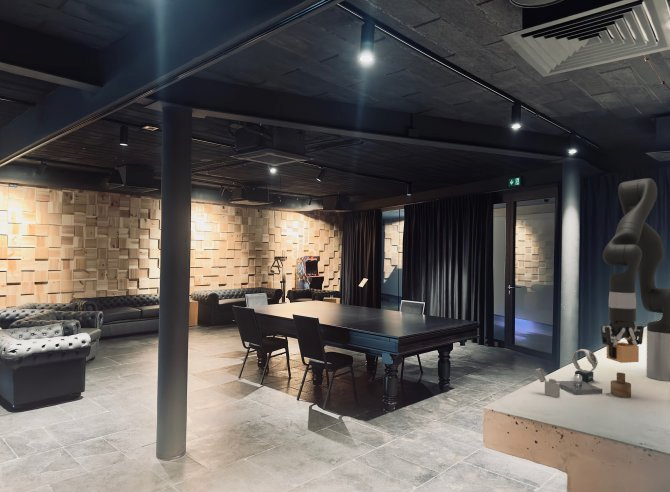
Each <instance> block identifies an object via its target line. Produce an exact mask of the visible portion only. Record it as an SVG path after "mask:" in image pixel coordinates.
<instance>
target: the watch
mask: <svg viewBox="0 0 670 492" xmlns="http://www.w3.org/2000/svg"><path fill="white" fill-rule="evenodd" d="M578 352H584V354H585V357H586V359H587V361H588V363H589V364H590V365H591V366H592V368H591V370H586V369H582V368H581V366H580V364H579V362H578V359H577V357H576V355H577V353H578ZM571 361H572V364H573V365H574V368H575V369H576V371H575V372H574V375H576V374H580V375H581V376H582V381H584V382H586V383H588V384H590V383H591V382H593V381H594V370H595V369H596V368H597V366H598V363H599V362H598V358H597V357H596V355H595V353H594V352H593V351H590V350H589V349H585V348H584V349H583V348H581V349H578V350H576V351H574V352H573V353H572V356H571Z"/></svg>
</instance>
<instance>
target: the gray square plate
mask: <svg viewBox="0 0 670 492" xmlns="http://www.w3.org/2000/svg"><path fill="white" fill-rule="evenodd" d="M556 381H557V383H560V390H561V389H562V390H563V391H566V392H567V393H570V394H572V395H573V396H574V395H576V396H577V395H580V396H581V395H602V394H603V388H600V387H599V386H595V385H593V384H590V383H586V382H584V381H582V376H581V375H580V374H576V375H575V374H574V376H573V380H556Z"/></svg>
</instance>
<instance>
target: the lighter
mask: <svg viewBox="0 0 670 492" xmlns="http://www.w3.org/2000/svg"><path fill="white" fill-rule="evenodd" d="M535 374H536V375H537V377H538V379H539V382H540V383H543V382H544V395H545V396H548V397H552V398H557V399H560V396H561V388H560V383H557V381H558V380H556V379H555V378H549V379H548V380H547V379H546V376H545V375H544V372H543V370H542V368H541V367H540V368H536V369H535Z"/></svg>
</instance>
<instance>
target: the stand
mask: <svg viewBox="0 0 670 492" xmlns="http://www.w3.org/2000/svg"><path fill="white" fill-rule="evenodd" d="M610 395H611V396H613V397H616V398H622V399H631V398H632V383H630V382H628V381H626V373H625V372H616V380H613V379H612V380H611V381H610Z"/></svg>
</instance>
